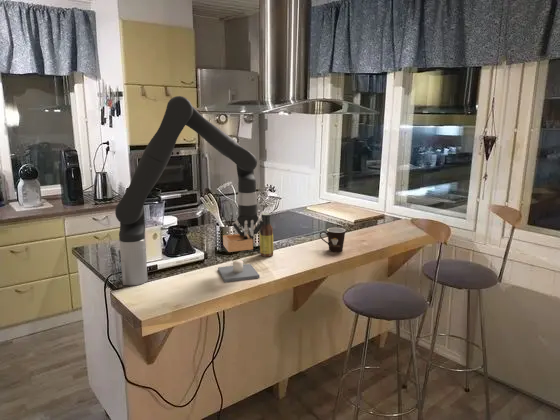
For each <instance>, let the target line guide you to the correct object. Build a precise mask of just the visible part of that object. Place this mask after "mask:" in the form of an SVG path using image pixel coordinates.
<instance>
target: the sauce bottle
mask: <svg viewBox="0 0 560 420" xmlns="http://www.w3.org/2000/svg"><path fill="white" fill-rule="evenodd" d="M260 215H261V220H262V221H263V222H264V223H263V225H262V227H261V228H260V230H259V232H258V233H259V252H260V255H261V256H262V257H265V258H269V257H272V256H273V255H274V252H275V251H274V228H273V226H272V224H271V213H269V212H263V213H261V214H260Z"/></svg>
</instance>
